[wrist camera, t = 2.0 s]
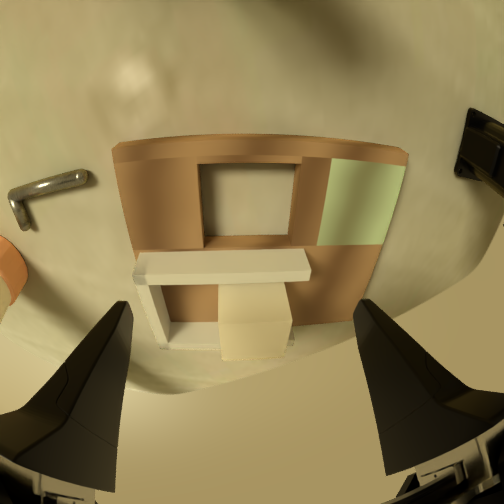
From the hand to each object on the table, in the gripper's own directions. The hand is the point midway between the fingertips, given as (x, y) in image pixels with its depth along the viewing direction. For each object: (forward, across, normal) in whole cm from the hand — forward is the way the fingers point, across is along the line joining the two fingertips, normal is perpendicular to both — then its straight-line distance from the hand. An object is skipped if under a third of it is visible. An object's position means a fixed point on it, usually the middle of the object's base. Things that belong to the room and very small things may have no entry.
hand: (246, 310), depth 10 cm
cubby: (+10, +1, +10) cm, 14 cm away
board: (+11, -2, +5) cm, 13 cm away
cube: (+10, -1, +9) cm, 14 cm away
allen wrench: (+11, +15, +1) cm, 19 cm away
